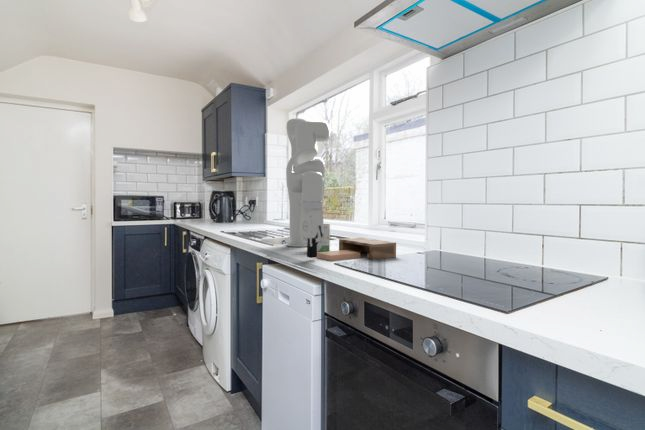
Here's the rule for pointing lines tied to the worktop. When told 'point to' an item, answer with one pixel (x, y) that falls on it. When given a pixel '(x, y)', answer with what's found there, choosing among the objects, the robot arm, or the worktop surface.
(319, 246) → the ink box
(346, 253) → the tile
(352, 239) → the shelf
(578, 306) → the worktop surface
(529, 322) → the worktop surface
